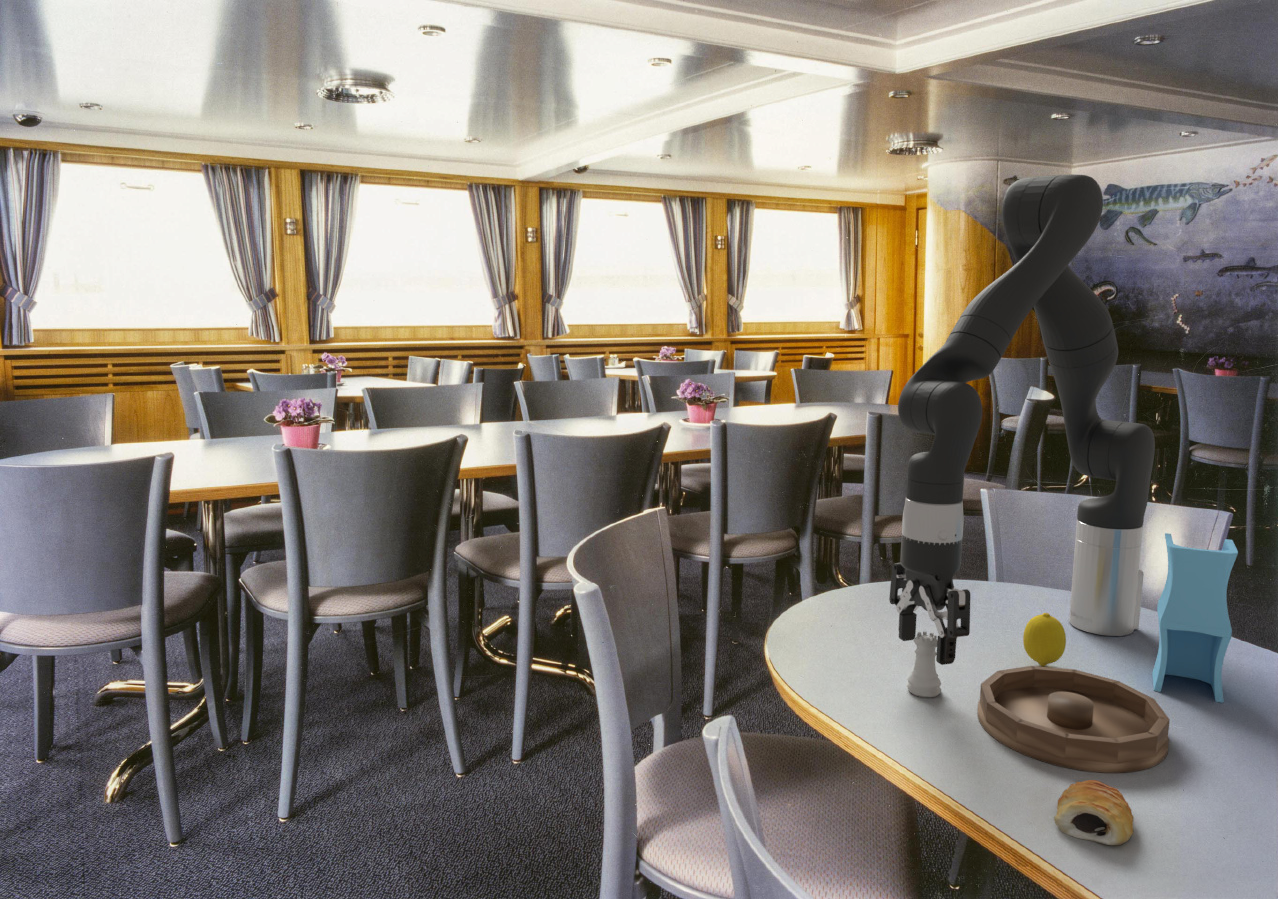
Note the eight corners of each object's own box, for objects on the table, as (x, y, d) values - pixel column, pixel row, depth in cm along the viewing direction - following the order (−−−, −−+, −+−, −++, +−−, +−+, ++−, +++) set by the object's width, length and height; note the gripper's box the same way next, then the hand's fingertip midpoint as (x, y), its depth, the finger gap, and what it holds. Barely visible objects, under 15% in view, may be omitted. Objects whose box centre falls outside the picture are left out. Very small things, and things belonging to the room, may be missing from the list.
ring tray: (1074, 681, 120) (1076, 657, 119) (1212, 756, 100) (1215, 727, 99) (942, 701, 114) (944, 676, 113) (1061, 785, 94) (1064, 755, 93)
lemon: (1068, 675, 121) (1072, 621, 120) (1026, 672, 123) (1030, 618, 121) (1058, 659, 127) (1061, 607, 125) (1017, 657, 128) (1021, 605, 127)
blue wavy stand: (1217, 679, 120) (1232, 539, 116) (1223, 702, 113) (1240, 554, 110) (1151, 668, 123) (1164, 532, 120) (1153, 690, 117) (1167, 546, 113)
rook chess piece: (941, 686, 118) (944, 630, 117) (941, 700, 114) (944, 643, 113) (907, 682, 120) (909, 627, 118) (905, 695, 116) (908, 639, 114)
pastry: (1065, 789, 94) (1068, 756, 93) (1137, 809, 90) (1140, 775, 89) (1051, 833, 86) (1054, 798, 85) (1129, 857, 82) (1133, 820, 82)
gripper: (992, 544, 107) (984, 668, 110) (924, 518, 121) (918, 629, 124) (940, 549, 105) (933, 675, 108) (876, 522, 119) (871, 634, 121)
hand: (925, 650), depth 116 cm, fingers open, 8 cm apart
